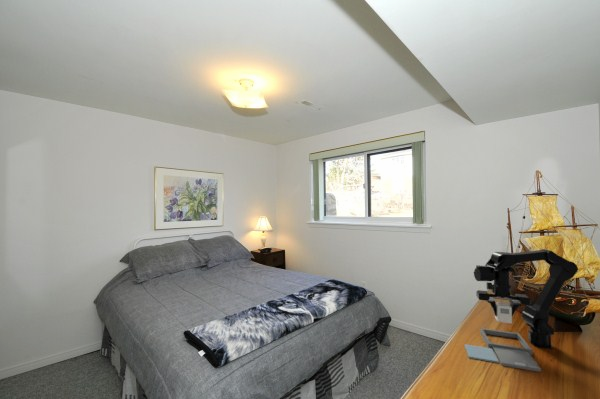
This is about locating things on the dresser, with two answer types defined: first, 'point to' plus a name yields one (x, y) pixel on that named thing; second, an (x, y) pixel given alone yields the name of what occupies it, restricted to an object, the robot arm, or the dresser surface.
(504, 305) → the block
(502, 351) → the grey open frame
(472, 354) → the mat
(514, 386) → the dresser surface
